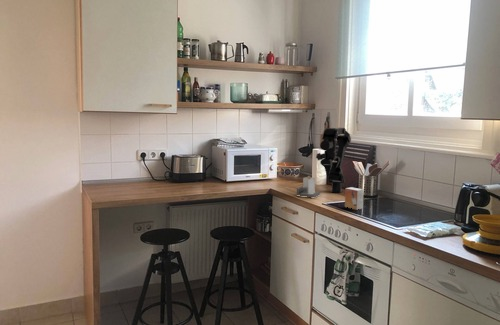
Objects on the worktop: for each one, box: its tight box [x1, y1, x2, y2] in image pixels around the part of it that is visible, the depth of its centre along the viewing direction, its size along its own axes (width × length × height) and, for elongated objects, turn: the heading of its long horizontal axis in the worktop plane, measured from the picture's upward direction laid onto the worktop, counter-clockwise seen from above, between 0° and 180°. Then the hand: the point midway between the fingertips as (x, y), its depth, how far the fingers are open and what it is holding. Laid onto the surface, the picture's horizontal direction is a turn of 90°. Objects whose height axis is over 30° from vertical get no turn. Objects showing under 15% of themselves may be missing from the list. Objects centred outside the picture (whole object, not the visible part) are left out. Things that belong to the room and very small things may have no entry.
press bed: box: [295, 185, 321, 198], centre depth 252 cm, size 10×11×5 cm
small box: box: [344, 186, 364, 211], centre depth 221 cm, size 8×6×10 cm
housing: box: [302, 175, 316, 194], centre depth 251 cm, size 5×5×10 cm
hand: (330, 174), depth 252 cm, fingers open, 9 cm apart
